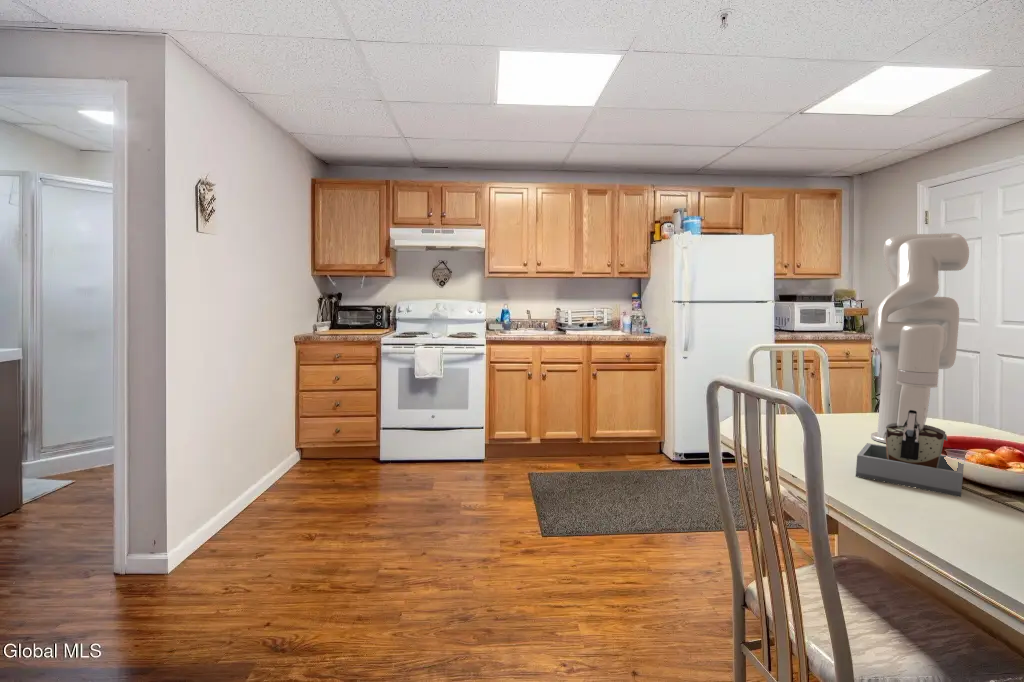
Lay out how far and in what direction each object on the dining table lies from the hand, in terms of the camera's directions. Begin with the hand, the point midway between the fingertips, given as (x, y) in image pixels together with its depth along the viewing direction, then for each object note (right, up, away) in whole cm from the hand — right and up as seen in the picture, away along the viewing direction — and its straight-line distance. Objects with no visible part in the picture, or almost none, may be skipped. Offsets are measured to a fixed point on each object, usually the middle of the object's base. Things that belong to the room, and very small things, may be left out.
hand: (910, 454), depth 127 cm
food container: (+1, -3, +2) cm, 4 cm away
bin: (0, -5, 0) cm, 5 cm away
